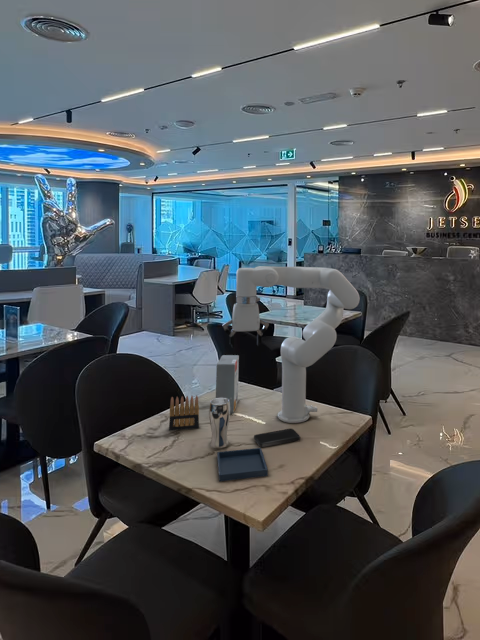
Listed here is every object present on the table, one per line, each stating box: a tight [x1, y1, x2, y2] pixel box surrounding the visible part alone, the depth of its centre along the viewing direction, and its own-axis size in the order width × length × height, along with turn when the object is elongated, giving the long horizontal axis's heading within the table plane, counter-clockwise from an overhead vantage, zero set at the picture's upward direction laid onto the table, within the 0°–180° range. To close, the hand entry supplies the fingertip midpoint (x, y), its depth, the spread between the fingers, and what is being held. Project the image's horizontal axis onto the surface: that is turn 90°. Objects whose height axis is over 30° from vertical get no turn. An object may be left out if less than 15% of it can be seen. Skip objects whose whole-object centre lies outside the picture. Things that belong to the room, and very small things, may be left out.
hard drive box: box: [215, 354, 240, 414], centre depth 184 cm, size 16×8×20 cm, turn 2°
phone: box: [253, 428, 301, 448], centre depth 155 cm, size 8×1×15 cm
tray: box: [216, 447, 269, 482], centre depth 136 cm, size 14×14×2 cm
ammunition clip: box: [168, 395, 200, 431], centre depth 162 cm, size 11×2×12 cm, turn 103°
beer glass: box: [208, 397, 231, 450], centre depth 150 cm, size 7×7×15 cm
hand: (245, 346), depth 165 cm, fingers open, 9 cm apart
